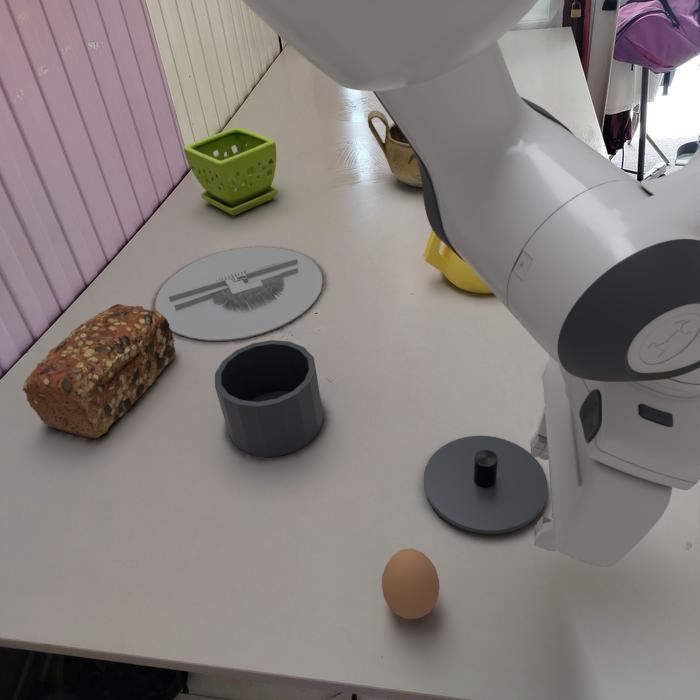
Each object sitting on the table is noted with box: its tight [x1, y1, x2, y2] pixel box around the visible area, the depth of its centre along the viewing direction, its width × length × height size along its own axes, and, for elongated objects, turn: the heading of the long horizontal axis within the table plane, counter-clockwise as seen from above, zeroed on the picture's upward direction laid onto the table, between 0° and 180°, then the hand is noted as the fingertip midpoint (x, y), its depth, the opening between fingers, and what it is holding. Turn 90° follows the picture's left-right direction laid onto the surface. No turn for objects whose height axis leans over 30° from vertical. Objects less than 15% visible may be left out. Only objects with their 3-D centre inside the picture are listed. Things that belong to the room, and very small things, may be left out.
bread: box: [21, 303, 176, 439], centre depth 86 cm, size 19×11×10 cm, turn 158°
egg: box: [381, 548, 440, 620], centre depth 57 cm, size 5×5×8 cm
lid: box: [423, 435, 549, 535], centre depth 69 cm, size 13×13×5 cm
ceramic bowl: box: [367, 110, 422, 188], centre depth 130 cm, size 22×17×15 cm
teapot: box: [422, 229, 494, 295], centre depth 102 cm, size 20×18×11 cm
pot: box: [214, 339, 324, 458], centre depth 78 cm, size 12×12×8 cm
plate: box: [154, 246, 324, 342], centre depth 106 cm, size 28×28×1 cm
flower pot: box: [183, 127, 278, 216], centre depth 130 cm, size 14×14×13 cm
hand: (540, 493), depth 52 cm, fingers open, 8 cm apart
